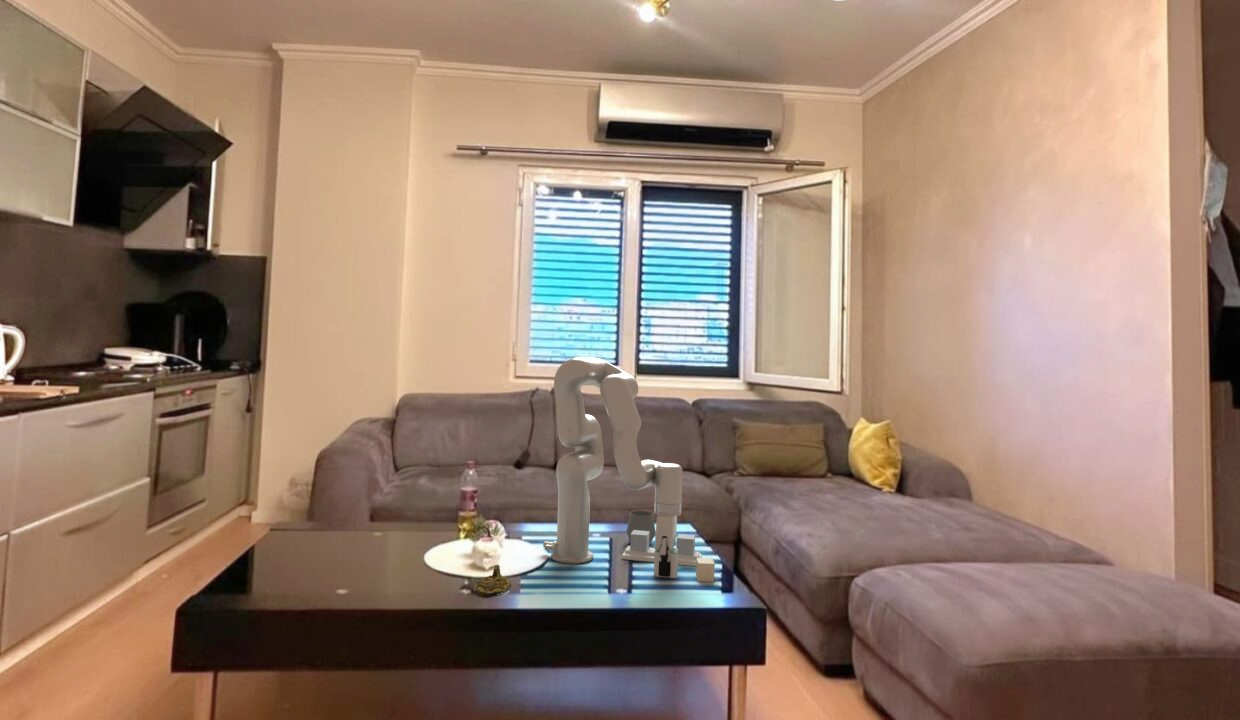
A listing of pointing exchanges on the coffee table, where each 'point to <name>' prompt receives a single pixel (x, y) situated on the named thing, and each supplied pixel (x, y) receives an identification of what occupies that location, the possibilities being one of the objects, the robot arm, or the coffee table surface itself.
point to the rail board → (643, 553)
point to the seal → (492, 584)
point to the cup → (641, 523)
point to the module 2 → (705, 569)
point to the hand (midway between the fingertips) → (665, 572)
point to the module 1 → (672, 559)
